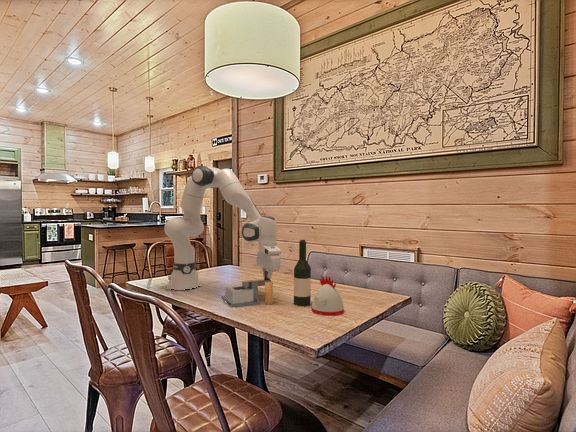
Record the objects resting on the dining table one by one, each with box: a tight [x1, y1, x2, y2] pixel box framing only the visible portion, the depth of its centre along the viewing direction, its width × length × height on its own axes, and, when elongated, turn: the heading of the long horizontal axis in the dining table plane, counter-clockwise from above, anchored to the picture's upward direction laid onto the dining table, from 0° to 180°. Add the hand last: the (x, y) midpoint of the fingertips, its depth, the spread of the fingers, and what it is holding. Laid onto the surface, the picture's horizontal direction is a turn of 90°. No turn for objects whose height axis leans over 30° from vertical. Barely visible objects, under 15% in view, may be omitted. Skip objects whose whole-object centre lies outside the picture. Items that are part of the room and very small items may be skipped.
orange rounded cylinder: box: [264, 281, 274, 306], centre depth 160 cm, size 4×4×10 cm
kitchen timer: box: [311, 275, 345, 317], centre depth 149 cm, size 14×14×15 cm
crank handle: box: [241, 270, 272, 287], centre depth 165 cm, size 3×14×6 cm, turn 118°
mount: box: [220, 279, 261, 308], centre depth 164 cm, size 18×13×10 cm
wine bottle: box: [293, 239, 312, 307], centre depth 160 cm, size 8×8×30 cm
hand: (267, 277), depth 167 cm, fingers closed on crank handle, 3 cm apart
